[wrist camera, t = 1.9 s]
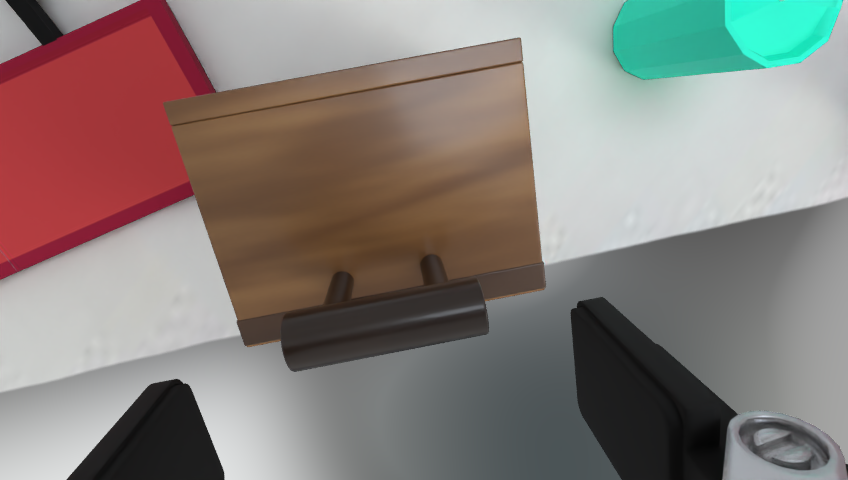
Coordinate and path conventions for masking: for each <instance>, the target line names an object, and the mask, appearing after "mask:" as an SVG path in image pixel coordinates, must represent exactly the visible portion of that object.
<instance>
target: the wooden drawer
mask: <svg viewBox="0 0 848 480" xmlns="http://www.w3.org/2000/svg"><path fill="white" fill-rule="evenodd" d="M522 61H523V55H522V45H521V38H514V39H509V40H503V41H498V42H492V43H487V44H481V45H476V46H470V47H465V48H459V49H454V50H448V51H443V52H437V53H432V54H426V55H420V56H415V57H409V58H404V59H398V60H393V61H387V62H382V63H376V64H371V65H365V66H360V67H354V68H349V69H343V70H338V71H332V72H327V73H321V74H316V75H310V76H305V77H299V78H294V79H288V80H283V81H277V82H272V83H266V84H261V85H255V86H250V87H244V88H239V89H233V90H228V91H222V92H217V93H211V94H206V95H200V96H195V97H189V98H184V99H178V100H173V101H167V102H164V103H163V105H164V108H165V111H166V114H167V117H168V120H169V123H170V125H172V131H173V134H174V137H175V140H176V143H177V145H178V148H179V151H180V154H181V157H182V160H183V163H184V166H185V169H186V172H187V174H188V177H189V180H190V183H191V186H192V189H193V192H194V195H195V198H196V201H197V203H198V206H199V209H200V212H201V215H202V218H203V221H204V224H205V227H206V230H207V232H208V235H209V238H210V241H211V244H212V247H213V250H214V253H215V256H216V259H217V261H218V264H219V267H220V270H221V273H222V276H223V279H224V282H225V285H226V288H227V290H228V293H229V296H230V299H231V302H232V305H233V308H234V311H235V314H236V317H237V319H238V320H237V325H238V327H239V330H240V333H241V336H242V339H243V342H244V345H245V346H247V347H252V346H257V345H262V344H267V343H272V342H278V341H281V345H282V351H283V355H284V358H285V361H286V363H287V366H288V367H289V368H290V370H291V371H294V372H297V371H302V370H307V369H312V368H317V367H323V366H327V365H333V364H338V363H343V362H348V361H353V360H358V359H363V358H368V357H374V356H379V355H384V354H388V353H394V352H399V351H404V350H409V349H414V348H419V347H425V346H430V345H435V344H440V343H445V342H450V341H455V340H460V339H465V338H471V337H476V336H480V335H486V334H488V332H489V322H488V315H487V309H486V304H485V301H489V300H494V299H499V298H504V297H509V296H515V295H520V294H525V293H530V292H535V291H540V290H544V289H545V287H546V281H545V271H544V263H543V261H542V254H541V244H540V234H539V223H538V213H537V202H536V192H535V182H534V171H533V161H532V150H531V140H530V130H529V119H528V109H527V98H526V88H525V78H524V67H523V63H522Z"/></svg>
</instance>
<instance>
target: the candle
mask: <svg viewBox="0 0 848 480" xmlns="http://www.w3.org/2000/svg"><path fill="white" fill-rule="evenodd" d="M842 3H843V0H628V1H626V2H625V3H624V5H623V7H622V9H621V11H620V13H619V16H618V18H617V20H616V22H615V24H614V26H613V52H614V54H615V55H616V57H617V59H618V60H619V62H620V64H621V65H622V67H623V69H624V71H626V72H628V73H630V74H632V75H634V76H637V77H639V78H641V79H643V80H646V79H656V78H667V77H678V76H688V75H699V74H709V73H720V72H731V71H741V70H752V69H762V68H771V67H777V66H783V65H790V64H796V63H800V62H802V61H803V60H804V59H806V58H807V57H808V56H809V55H811V54H812V53H813V52H815V51H816V50H817V49H818V48H820V47H821V46H822V45H823V44H825V43H826V42H827V41H828V39H829V37H830V34H831V32H832V29H833V27H834V24H835V22H836V19H837V17H838V14H839V11H840V9H841V6H842Z"/></svg>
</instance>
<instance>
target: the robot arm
mask: <svg viewBox="0 0 848 480" xmlns="http://www.w3.org/2000/svg"><path fill="white" fill-rule="evenodd" d="M571 324H572V335H573V349H574V360H575V374H576V385H577V398H578V404H579V408H580V411H581V414H582V416H583V418H584V419H585V421H586V422H587V424H588V426H589V428H590V429H591V431H592V432H593V434H594V436H595V437H596V439H597V441H598V442H599V444H600V445H601V447H602V449H603V450H604V452H605V453H606V455H607V457H608V458H609V460H610V462H611V463H612V465H613V466H614V468H615V470H616V471H617V473H618V474H619V476H620V478H621V479H622V480H848V464H845V459H844V456H843V454H842V451H841V449H840V447H839V446H838V445H837V444H836V443H835V442H834V440H833V439H832V438H831V437H830V436H828V435H827V434H826V433H824V432H823V431H821V430H820V429H819V428H817V427H816V426H814V425H812V424H810V423H807V422H805V421H803V420H801V419H799V418H796V417H792V416H789V415H786V414H782V413H776V412H769V411H750V412H745V413H742V414H737V413H736V412H735V411H734V410H733V409H731V408H730V407H729V406H728V405H727V404H726V403H725V402H724V401H722V400H721V399H720V398H719V397H718V396H717V395H716V394H715V393H713V392H712V391H711V390H710V389H709V388H708V387H707V386H705V385H704V384H703V383H702V382H701V381H700V380H699V379H697V378H696V377H695V376H694V375H693V374H692V373H691V372H690V371H688V370H687V369H686V368H685V367H684V366H683V365H682V364H681V363H680V362H678V361H677V360H676V359H675V358H674V357H672V356H671V355H670V354H669V353H668V352H667V351H666V350H665V349H664V348H663V347H661V346H660V345H658V344H655V343H654V342H653V341H652V340H650V339H649V338H648V337H647V336H646V335H645V334H644V333H643V332H641V331H640V330H639V329H638V328H637V327H636V326H635V325H634V324H632V323H631V322H630V321H629V320H628V319H627V318H626V317H625V316H623V314H621V313H620V312H619V311H618V310H617V309H616V308H615V307H614V306H612V305H611V304H610V303H609V302H608V301H607V300H606V299H605V298H603V297H600V298H595V299H589V300H584V301H579V302H578V304H577V308H574V309H572V310H571ZM67 480H224V471H223V468H222V465H221V463H220V460H219V458H218V455H217V453H216V450H215V448H214V445H213V443H212V440H211V438H210V435H209V433H208V430H207V427H206V425H205V422H204V420H203V417H202V415H201V412H200V410H199V407H198V405H197V402H196V400H195V397H194V395H193V392H192V390H191V388H190V386H189V385H188V384H183V383H182V382H181V381H180V380H178V379H174V380H169V381H164V382H159V383H153V384H151V385H149V386H148V387H147V388H146V389H145V390H144V392H143V393H142V394H141V395H140V396H139V397H138V399H137V400H136V401H135V402H134V403H133V404H132V406H130V408H129V409H128V410H127V411H126V412H125V413H124V415H123V416H122V417H121V418H120V419H119V420H118V421H117V423H116V424H115V425H114V426H113V427H112V428H111V429H110V431H109V432H108V433H107V434H106V435H105V436H104V437H103V439H102V440H101V441H100V442H99V443H98V444H97V445H96V447H95V448H94V449H93V450H92V451H91V452H90V453H89V455H88V456H87V457H86V458H85V459H84V460H83V461H82V463H81V464H80V465H79V466H78V467H77V468H76V469H75V471H74V472H73V473H72V474H71V475H70V476H69V477H68V479H67Z"/></svg>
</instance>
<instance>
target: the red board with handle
mask: <svg viewBox="0 0 848 480" xmlns="http://www.w3.org/2000/svg"><path fill="white" fill-rule="evenodd" d="M6 1H7V3H8V4H9V5H10V6H11V7H12V9H13V10H14V11H15V12H16V14H17V15H18V16H19V17H20V18H21V20H22V21H23V22H24V23H25V24H26V26H27V27H28V28H29V29H30V31H31V32H32V33H33V34H34V35H35V37H36V38H37V39H38V40H39V41H40V43H41V44H42V45H41V46H39V47H37V48H35V49H33V50H30V51H28V52H26V53H24V54H22V55H20V56H17V57H15V58H13V59H11V60H9V61H6V62H4V63H2V64H0V280H1V279H3V278H5V277H7V276H10V275H12V274H14V273H17V272H19V271H21V270H23V269H26V268H28V267H30V266H33V265H35V264H37V263H39V262H42V261H44V260H46V259H49V258H51V257H53V256H55V255H58V254H60V253H62V252H65V251H67V250H69V249H71V248H74V247H76V246H78V245H81V244H83V243H85V242H87V241H90V240H92V239H94V238H97V237H99V236H101V235H103V234H106V233H108V232H110V231H113V230H115V229H117V228H119V227H122V226H124V225H126V224H129V223H131V222H133V221H135V220H138V219H140V218H142V217H145V216H147V215H149V214H151V213H154V212H156V211H158V210H161V209H163V208H165V207H167V206H170V205H172V204H174V203H177V202H179V201H181V200H183V199H186V198H188V197H190V196H192V195H194V192H193V189H192V186H191V183H190V180H189V177H188V174H187V172H186V169H185V166H184V163H183V160H182V157H181V154H180V151H179V148H178V145H177V143H176V140H175V137H174V134H173V131H172V125H170V123H169V120H168V117H167V114H166V111H165V108H164V105H163V103H164V102H167V101H173V100H178V99H184V98H189V97H195V96H200V95H206V94H211V93H216V91H215V89H214V88H213V86H212V84H211V82H210V80H209V79H208V77H207V75H206V73H205V71H204V69H203V68H202V66H201V64H200V62H199V60H198V58H197V57H196V55H195V53H194V51H193V49H192V48H191V46H190V44H189V42H188V40H187V38H186V37H185V35H184V33H183V31H182V29H181V27H180V26H179V24H178V22H177V20H176V18H175V17H174V15H173V13H172V11H171V9H170V7H169V6H168V4H167V2H166V0H140V1H138V2H136V3H134V4H131V5H129V6H127V7H125V8H123V9H120V10H118V11H116V12H114V13H112V14H109V15H107V16H105V17H103V18H101V19H98V20H96V21H94V22H92V23H90V24H87V25H85V26H83V27H81V28H79V29H77V30H74V31H72V32H70V33H68V34H66V35H63V34H62V33H61V32H60V30H59V29H58V28H57V27H56V25H55V24H54V23H53V21H52V20H51V19H50V18H49V16H48V15H47V14H46V13H45V11H44V10H43V9H42V8H41V6H40V5H39V4H38V2H37V1H36V0H6Z"/></svg>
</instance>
